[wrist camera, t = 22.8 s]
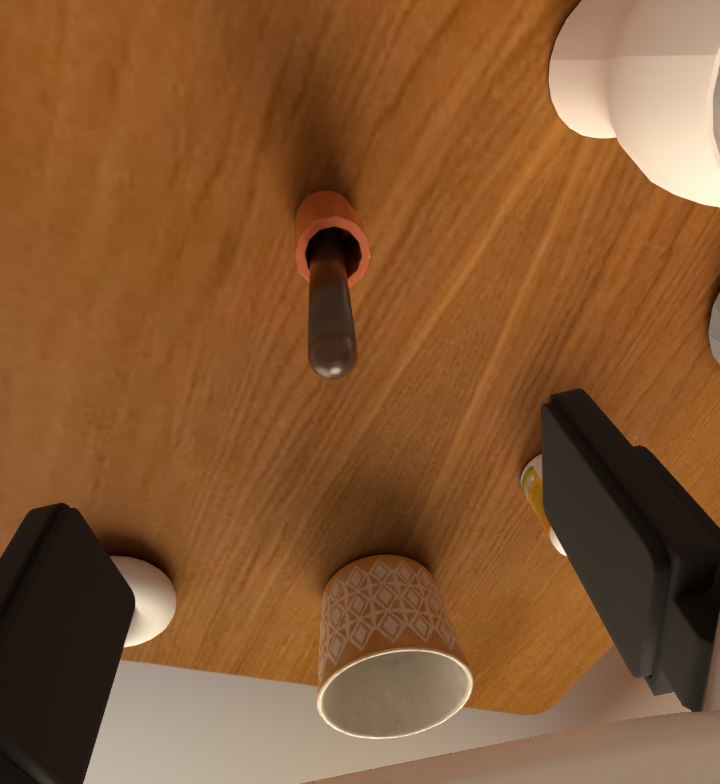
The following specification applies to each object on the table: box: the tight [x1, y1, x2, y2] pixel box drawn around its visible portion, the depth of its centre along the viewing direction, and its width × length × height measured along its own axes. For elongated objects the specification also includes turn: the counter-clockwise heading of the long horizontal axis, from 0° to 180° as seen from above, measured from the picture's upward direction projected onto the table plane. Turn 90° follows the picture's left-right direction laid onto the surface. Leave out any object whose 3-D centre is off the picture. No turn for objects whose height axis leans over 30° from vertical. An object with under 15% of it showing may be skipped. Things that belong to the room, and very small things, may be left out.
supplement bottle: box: [521, 454, 567, 556], centre depth 42 cm, size 5×5×10 cm
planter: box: [317, 554, 473, 739], centre depth 47 cm, size 13×13×10 cm
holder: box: [294, 190, 371, 288], centre depth 30 cm, size 4×4×7 cm
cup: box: [549, 0, 720, 207], centre depth 24 cm, size 11×11×15 cm
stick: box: [308, 226, 358, 379], centre depth 26 cm, size 2×2×17 cm
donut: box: [110, 556, 176, 647], centre depth 46 cm, size 10×4×10 cm
